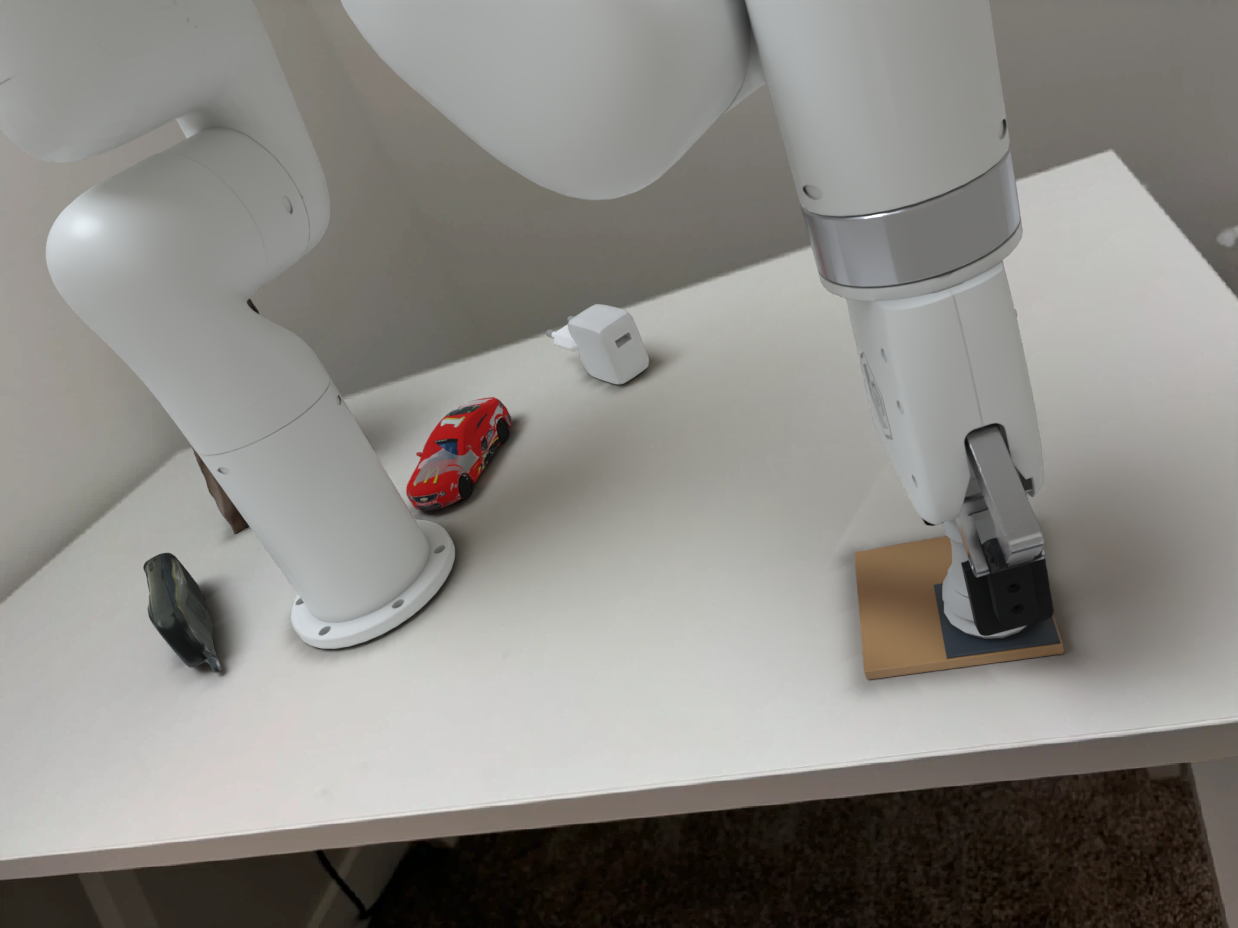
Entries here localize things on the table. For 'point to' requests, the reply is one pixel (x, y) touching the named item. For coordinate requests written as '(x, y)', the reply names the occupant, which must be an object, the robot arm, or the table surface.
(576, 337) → the power adapter
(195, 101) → the robot arm
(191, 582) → the dark green oblong piece
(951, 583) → the rook chess piece
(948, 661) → the cork mat
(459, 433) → the race car
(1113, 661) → the table surface
